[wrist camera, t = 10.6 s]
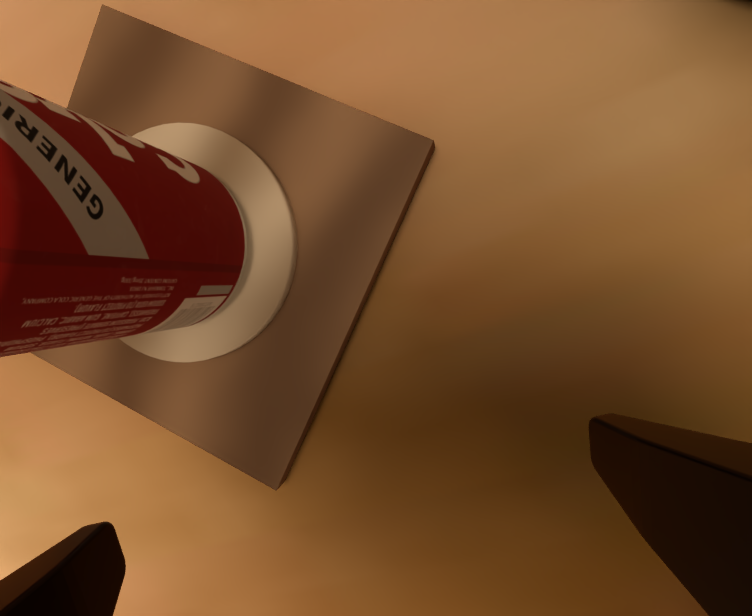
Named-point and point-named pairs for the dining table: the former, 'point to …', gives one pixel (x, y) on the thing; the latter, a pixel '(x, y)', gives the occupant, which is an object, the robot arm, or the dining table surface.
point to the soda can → (104, 232)
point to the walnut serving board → (249, 239)
